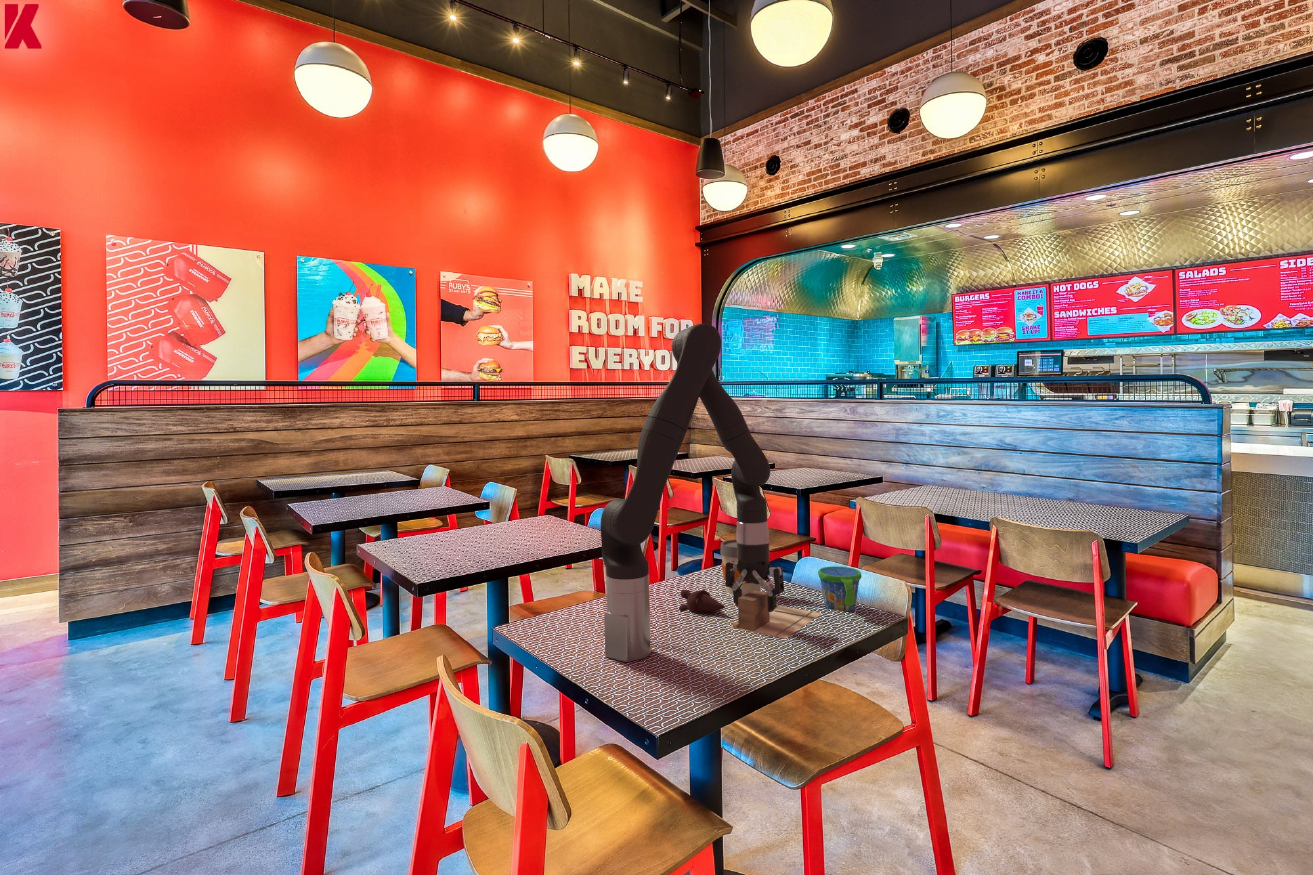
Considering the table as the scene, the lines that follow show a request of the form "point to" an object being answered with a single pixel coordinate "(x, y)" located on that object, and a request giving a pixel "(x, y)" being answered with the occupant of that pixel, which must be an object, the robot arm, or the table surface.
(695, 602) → the icecream
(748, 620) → the block
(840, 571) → the snack cup
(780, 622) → the board
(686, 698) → the table surface
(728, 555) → the reusable coffee cup
